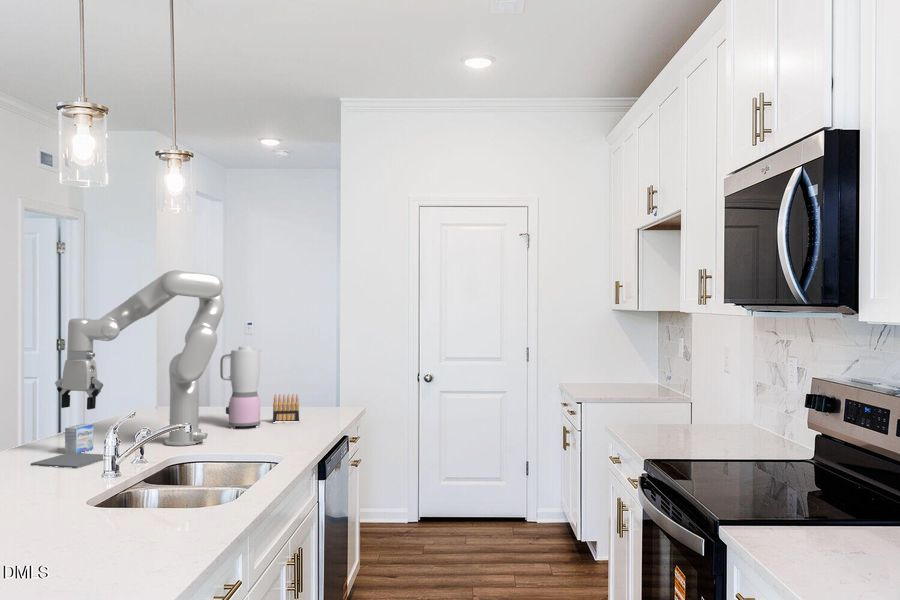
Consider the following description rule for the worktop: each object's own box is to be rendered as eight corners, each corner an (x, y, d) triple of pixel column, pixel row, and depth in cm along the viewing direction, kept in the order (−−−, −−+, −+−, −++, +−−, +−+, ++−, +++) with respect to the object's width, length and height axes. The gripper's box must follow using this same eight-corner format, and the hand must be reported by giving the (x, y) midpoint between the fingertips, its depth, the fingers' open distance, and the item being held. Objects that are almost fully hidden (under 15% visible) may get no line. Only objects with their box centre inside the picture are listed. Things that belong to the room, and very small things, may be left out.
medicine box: (76, 454, 225) (76, 427, 225) (64, 454, 225) (64, 427, 225) (93, 449, 232) (93, 423, 232) (81, 449, 233) (82, 423, 233)
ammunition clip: (299, 422, 291) (299, 393, 291) (299, 422, 289) (299, 393, 289) (272, 422, 289) (273, 393, 289) (272, 423, 287) (272, 394, 287)
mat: (113, 457, 222) (113, 455, 222) (76, 468, 206) (76, 466, 206) (70, 454, 225) (70, 452, 225) (30, 465, 209) (30, 463, 209)
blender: (258, 423, 287) (259, 345, 287) (262, 428, 275) (263, 347, 276) (218, 425, 280) (219, 346, 281) (220, 430, 269) (221, 347, 270)
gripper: (110, 356, 231) (109, 408, 231) (65, 354, 235) (64, 405, 234) (94, 357, 224) (93, 411, 223) (48, 355, 227) (46, 408, 227)
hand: (78, 408), depth 229 cm, fingers open, 9 cm apart
